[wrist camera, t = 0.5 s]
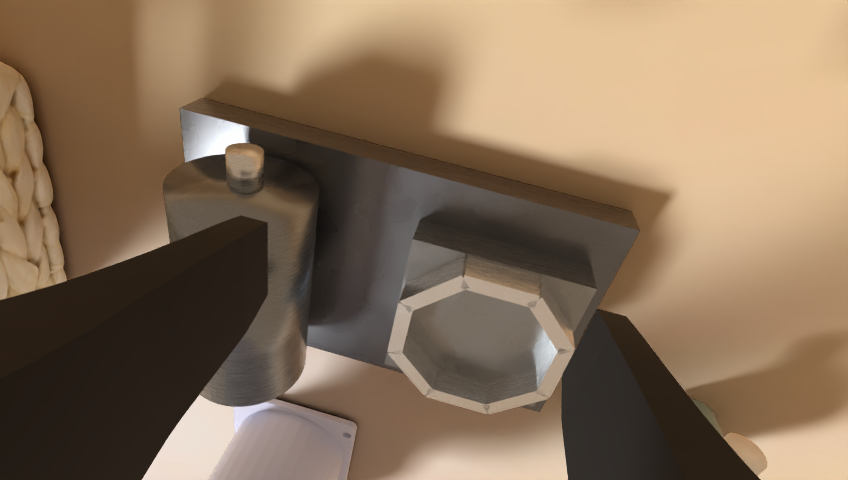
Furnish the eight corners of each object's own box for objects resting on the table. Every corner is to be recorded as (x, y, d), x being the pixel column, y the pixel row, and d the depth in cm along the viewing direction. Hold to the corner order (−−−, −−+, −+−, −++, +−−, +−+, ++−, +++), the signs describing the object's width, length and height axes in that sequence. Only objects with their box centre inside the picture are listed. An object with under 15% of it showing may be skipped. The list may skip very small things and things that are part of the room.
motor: (538, 388, 24) (543, 514, 19) (216, 296, 25) (130, 392, 19) (635, 205, 18) (685, 313, 12) (201, 91, 19) (69, 146, 13)
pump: (688, 459, 25) (726, 573, 20) (609, 436, 25) (629, 544, 20) (756, 387, 21) (821, 504, 17) (664, 361, 22) (703, 470, 17)
